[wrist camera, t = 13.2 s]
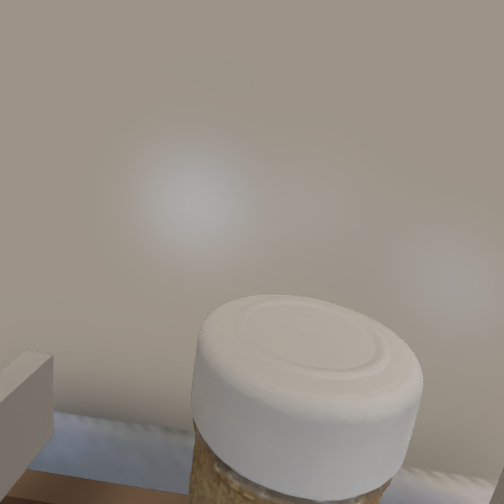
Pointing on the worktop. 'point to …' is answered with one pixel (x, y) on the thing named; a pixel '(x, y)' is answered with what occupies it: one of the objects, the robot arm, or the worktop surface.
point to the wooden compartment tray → (81, 491)
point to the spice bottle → (299, 404)
